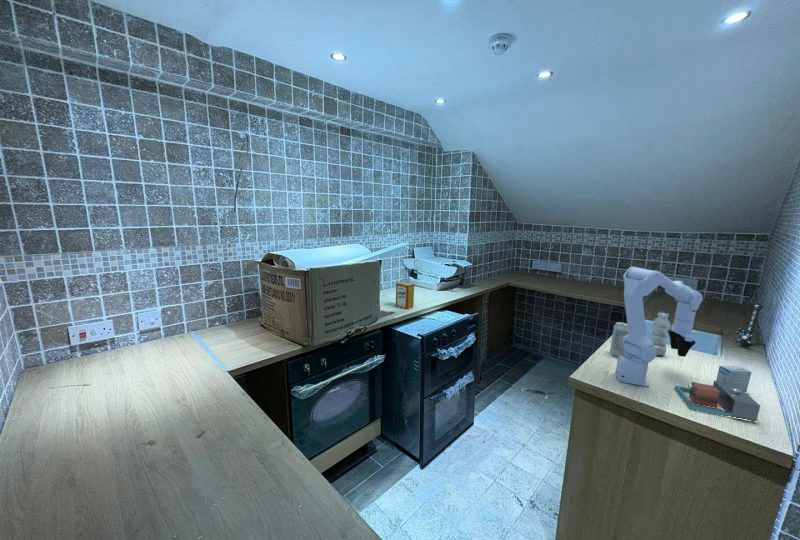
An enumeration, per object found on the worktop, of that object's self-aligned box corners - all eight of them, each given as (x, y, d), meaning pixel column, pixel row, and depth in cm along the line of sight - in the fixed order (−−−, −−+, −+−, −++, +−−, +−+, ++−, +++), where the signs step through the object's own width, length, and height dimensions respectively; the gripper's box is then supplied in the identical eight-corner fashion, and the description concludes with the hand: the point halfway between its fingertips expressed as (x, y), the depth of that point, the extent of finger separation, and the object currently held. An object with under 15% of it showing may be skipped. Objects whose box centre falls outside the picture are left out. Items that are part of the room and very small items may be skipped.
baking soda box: (413, 307, 213) (414, 283, 210) (406, 309, 208) (407, 285, 206) (402, 304, 219) (402, 281, 217) (395, 306, 215) (396, 282, 212)
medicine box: (734, 386, 125) (739, 365, 123) (746, 393, 121) (752, 371, 119) (714, 386, 125) (718, 365, 123) (726, 393, 120) (731, 371, 119)
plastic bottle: (649, 355, 151) (656, 313, 147) (646, 350, 157) (653, 309, 153) (666, 358, 148) (674, 316, 144) (663, 353, 154) (670, 312, 150)
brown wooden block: (688, 402, 113) (691, 386, 112) (683, 396, 117) (686, 380, 116) (716, 408, 110) (720, 392, 109) (710, 401, 114) (713, 385, 113)
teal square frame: (689, 409, 109) (693, 389, 108) (674, 389, 122) (677, 371, 121) (755, 423, 103) (761, 402, 102) (732, 400, 116) (736, 381, 114)
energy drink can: (624, 354, 151) (630, 323, 148) (625, 359, 146) (631, 327, 143) (609, 351, 154) (614, 320, 151) (609, 356, 149) (614, 324, 146)
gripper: (705, 326, 120) (698, 361, 122) (689, 315, 133) (683, 347, 136) (681, 323, 123) (675, 358, 125) (668, 313, 136) (662, 344, 138)
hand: (677, 352), depth 131 cm, fingers open, 7 cm apart
